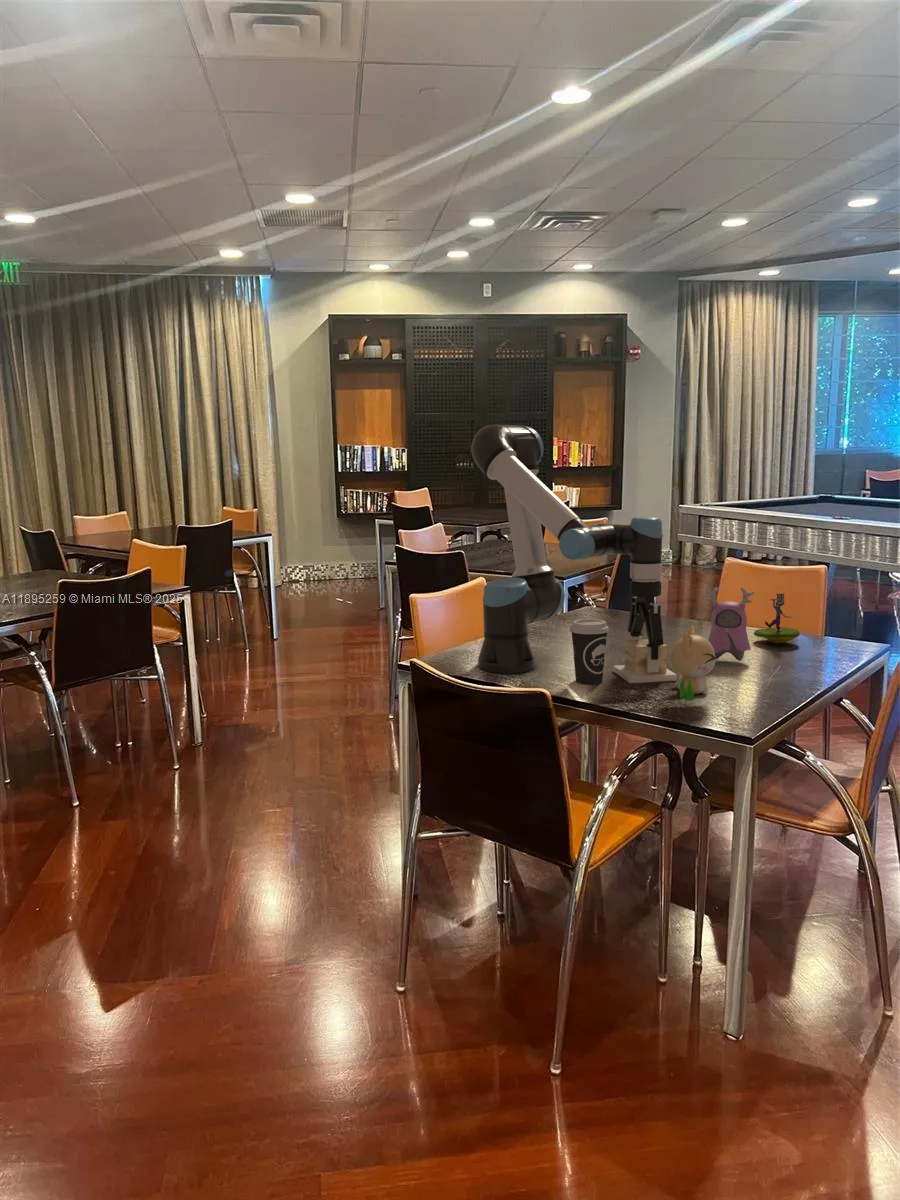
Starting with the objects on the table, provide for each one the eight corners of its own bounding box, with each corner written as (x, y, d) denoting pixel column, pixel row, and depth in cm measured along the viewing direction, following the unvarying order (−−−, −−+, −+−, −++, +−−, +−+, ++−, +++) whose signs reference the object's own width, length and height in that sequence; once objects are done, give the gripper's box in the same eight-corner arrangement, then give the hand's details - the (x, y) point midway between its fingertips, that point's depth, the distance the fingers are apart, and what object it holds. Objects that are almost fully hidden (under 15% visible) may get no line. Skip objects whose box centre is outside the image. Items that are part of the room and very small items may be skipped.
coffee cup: (606, 676, 207) (607, 618, 204) (610, 686, 197) (611, 625, 195) (568, 676, 208) (568, 618, 205) (570, 686, 198) (570, 625, 196)
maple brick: (635, 674, 201) (635, 647, 200) (624, 667, 209) (624, 640, 208) (666, 673, 202) (667, 645, 201) (654, 665, 210) (654, 638, 209)
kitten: (711, 703, 181) (713, 637, 179) (665, 699, 185) (666, 634, 183) (718, 686, 195) (720, 625, 193) (675, 683, 199) (676, 622, 197)
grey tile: (629, 683, 200) (629, 677, 199) (613, 671, 211) (613, 665, 211) (676, 680, 201) (676, 674, 201) (657, 668, 213) (658, 663, 213)
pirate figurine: (751, 637, 248) (753, 588, 246) (796, 638, 245) (798, 589, 242) (755, 647, 235) (757, 595, 233) (802, 648, 232) (805, 596, 229)
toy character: (703, 663, 217) (705, 589, 214) (705, 654, 227) (707, 583, 224) (751, 666, 213) (754, 590, 210) (751, 657, 223) (754, 584, 219)
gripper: (679, 585, 191) (677, 677, 195) (643, 573, 214) (642, 655, 218) (648, 587, 190) (647, 678, 194) (615, 574, 213) (614, 656, 217)
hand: (644, 666), depth 206 cm, fingers open, 10 cm apart
